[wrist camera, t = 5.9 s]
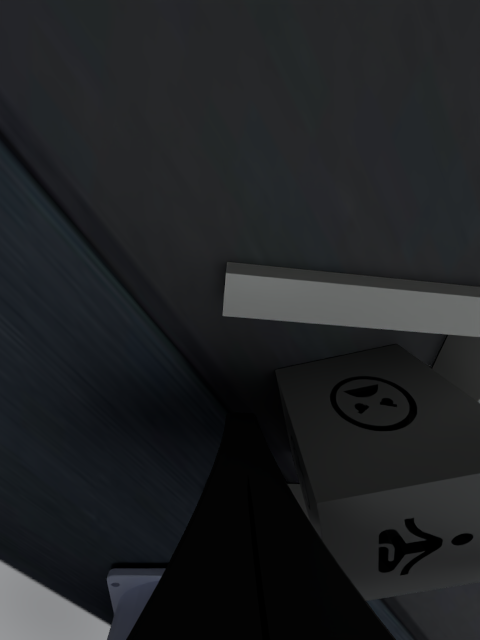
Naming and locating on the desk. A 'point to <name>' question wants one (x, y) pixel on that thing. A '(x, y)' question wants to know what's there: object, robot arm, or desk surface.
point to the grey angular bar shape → (364, 312)
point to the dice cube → (387, 468)
